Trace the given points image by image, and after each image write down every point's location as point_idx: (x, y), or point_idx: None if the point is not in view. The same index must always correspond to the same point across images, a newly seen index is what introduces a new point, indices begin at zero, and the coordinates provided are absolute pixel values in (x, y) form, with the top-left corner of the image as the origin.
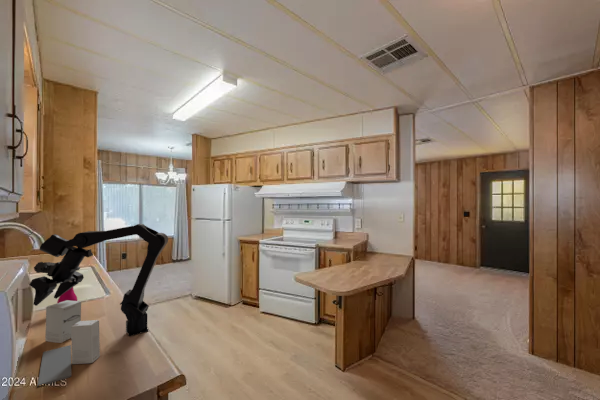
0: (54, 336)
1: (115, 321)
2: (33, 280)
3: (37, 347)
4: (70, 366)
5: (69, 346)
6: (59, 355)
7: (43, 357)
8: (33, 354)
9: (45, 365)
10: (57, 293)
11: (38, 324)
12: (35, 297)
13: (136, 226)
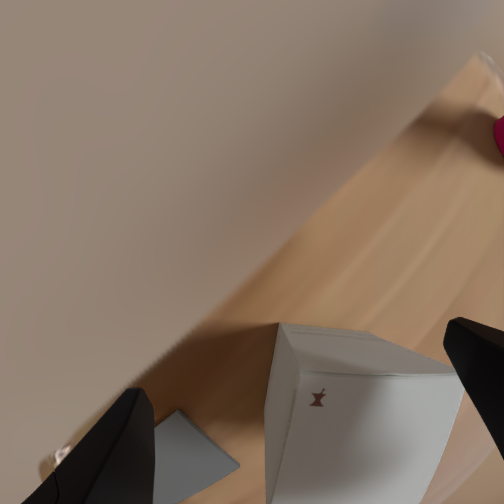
0: (268, 387)
1: (455, 441)
2: None
3: (223, 340)
4: None
5: (227, 471)
6: (164, 478)
7: None
8: (168, 376)
9: None
10: (481, 363)
11: (418, 127)
12: (74, 462)
13: None
